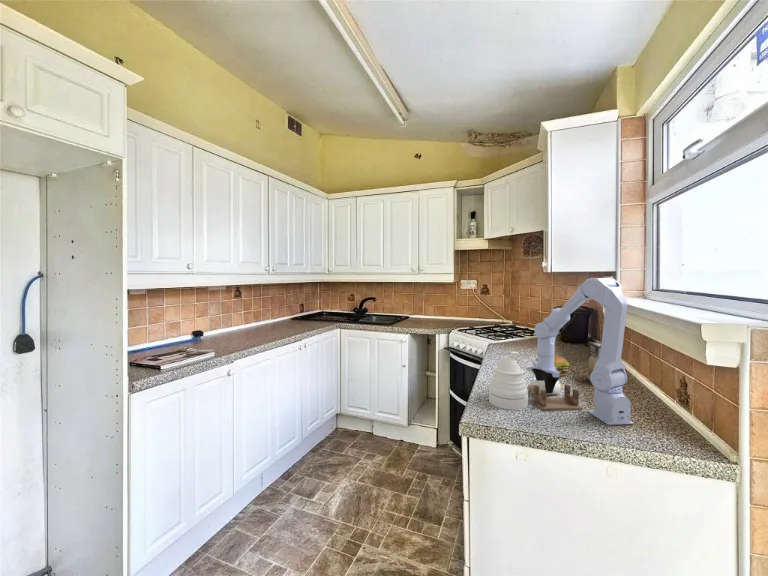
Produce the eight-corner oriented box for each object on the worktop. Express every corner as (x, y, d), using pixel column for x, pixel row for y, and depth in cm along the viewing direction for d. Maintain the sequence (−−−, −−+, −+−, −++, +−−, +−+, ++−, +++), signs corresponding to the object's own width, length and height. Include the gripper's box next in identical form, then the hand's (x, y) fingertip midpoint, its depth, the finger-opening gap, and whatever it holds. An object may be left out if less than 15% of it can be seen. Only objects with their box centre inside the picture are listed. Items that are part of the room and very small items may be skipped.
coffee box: (587, 378, 139) (588, 341, 138) (603, 379, 138) (604, 342, 137) (596, 386, 130) (597, 346, 129) (614, 387, 129) (615, 347, 128)
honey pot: (527, 398, 119) (528, 349, 118) (528, 412, 107) (529, 358, 106) (490, 393, 124) (490, 346, 123) (487, 406, 112) (487, 354, 111)
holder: (582, 410, 108) (582, 392, 108) (544, 411, 108) (544, 393, 107) (565, 399, 117) (566, 382, 117) (530, 400, 117) (530, 383, 116)
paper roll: (564, 396, 120) (565, 382, 120) (532, 397, 120) (532, 383, 119) (556, 391, 125) (557, 378, 125) (526, 392, 125) (526, 379, 124)
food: (578, 374, 145) (578, 357, 145) (556, 379, 139) (556, 360, 139) (550, 366, 158) (551, 350, 157) (529, 370, 152) (530, 353, 151)
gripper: (525, 350, 129) (525, 383, 129) (546, 360, 114) (545, 398, 115) (543, 349, 129) (542, 383, 130) (565, 359, 115) (564, 397, 115)
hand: (545, 390), depth 122 cm, fingers closed on paper roll, 5 cm apart
